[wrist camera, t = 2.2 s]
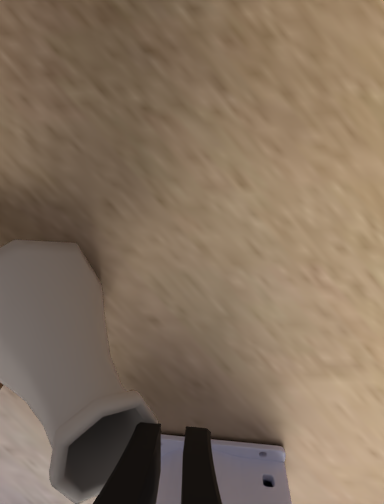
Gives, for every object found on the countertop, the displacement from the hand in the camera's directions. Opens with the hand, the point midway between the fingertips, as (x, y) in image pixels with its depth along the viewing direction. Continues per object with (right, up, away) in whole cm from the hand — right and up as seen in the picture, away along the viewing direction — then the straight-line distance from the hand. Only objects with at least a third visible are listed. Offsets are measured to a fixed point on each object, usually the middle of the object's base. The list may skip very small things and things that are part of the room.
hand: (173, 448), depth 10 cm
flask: (-8, +3, +7) cm, 11 cm away
